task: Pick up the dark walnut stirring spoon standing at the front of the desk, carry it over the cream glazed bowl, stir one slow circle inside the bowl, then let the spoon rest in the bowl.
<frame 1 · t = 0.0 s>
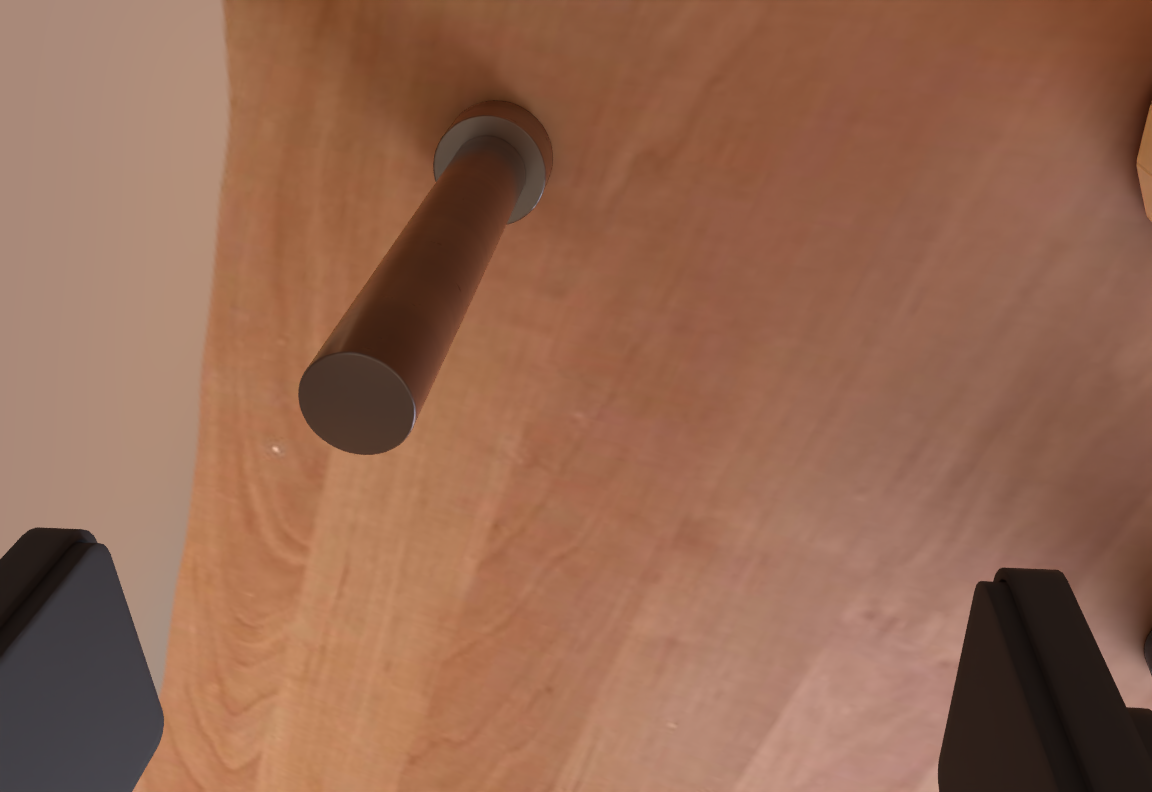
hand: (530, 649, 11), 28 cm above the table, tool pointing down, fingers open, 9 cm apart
stirrer: (498, 155, 38), on the table
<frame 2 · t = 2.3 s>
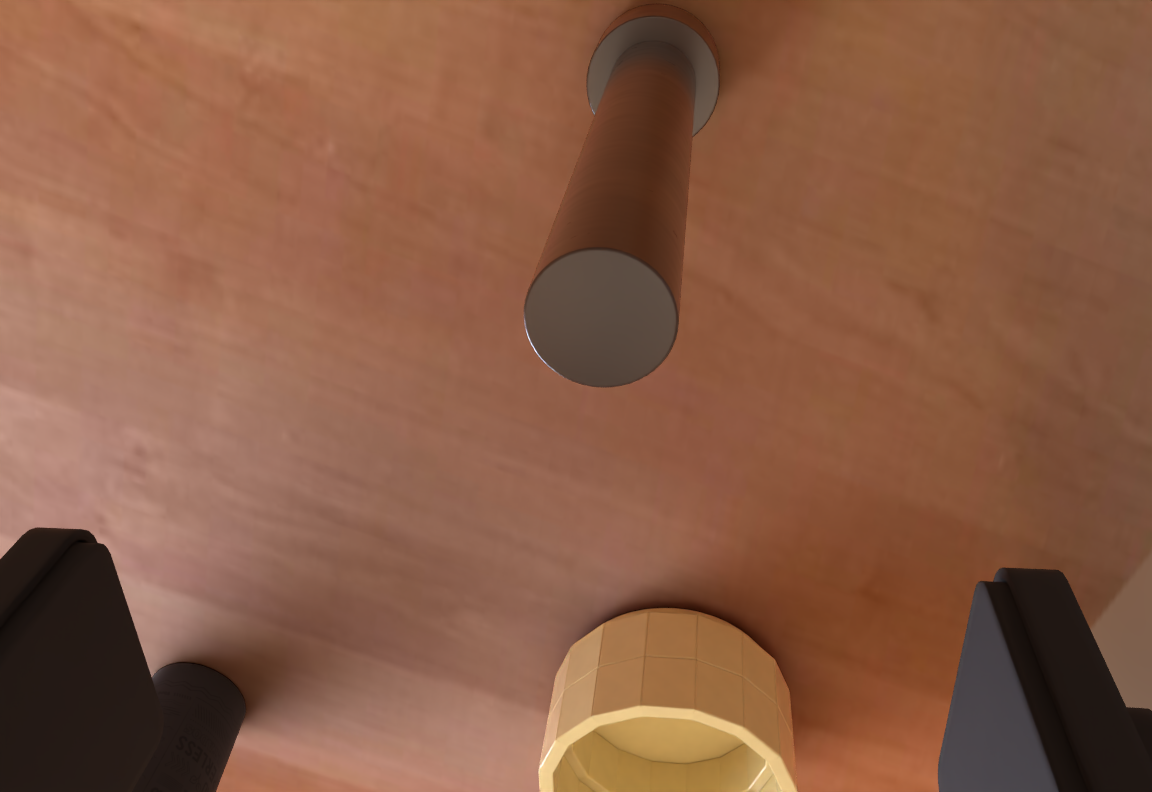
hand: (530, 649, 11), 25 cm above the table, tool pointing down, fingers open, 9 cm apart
drinking cup: (200, 694, 50), on the table
bowl: (671, 685, 46), on the table
stirrer: (655, 70, 32), on the table
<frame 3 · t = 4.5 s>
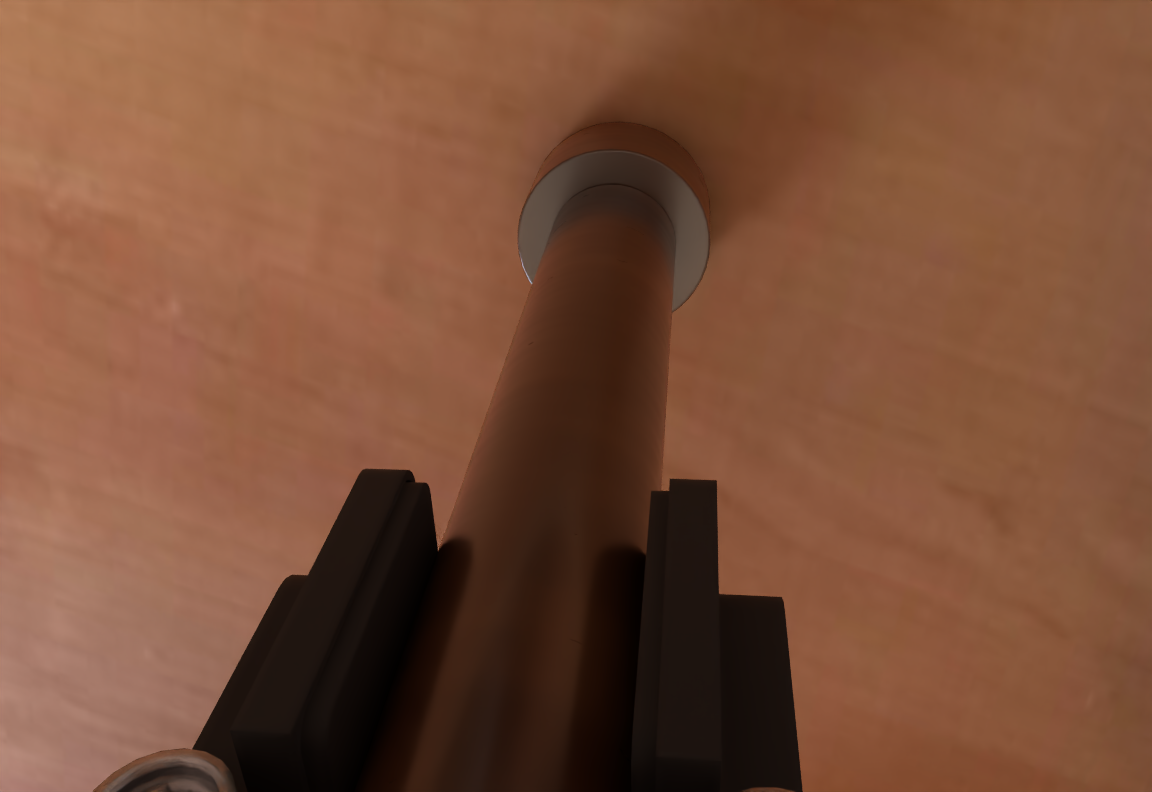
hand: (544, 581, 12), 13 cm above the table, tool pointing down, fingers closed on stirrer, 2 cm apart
stirrer: (619, 210, 23), on the table, touching gripper
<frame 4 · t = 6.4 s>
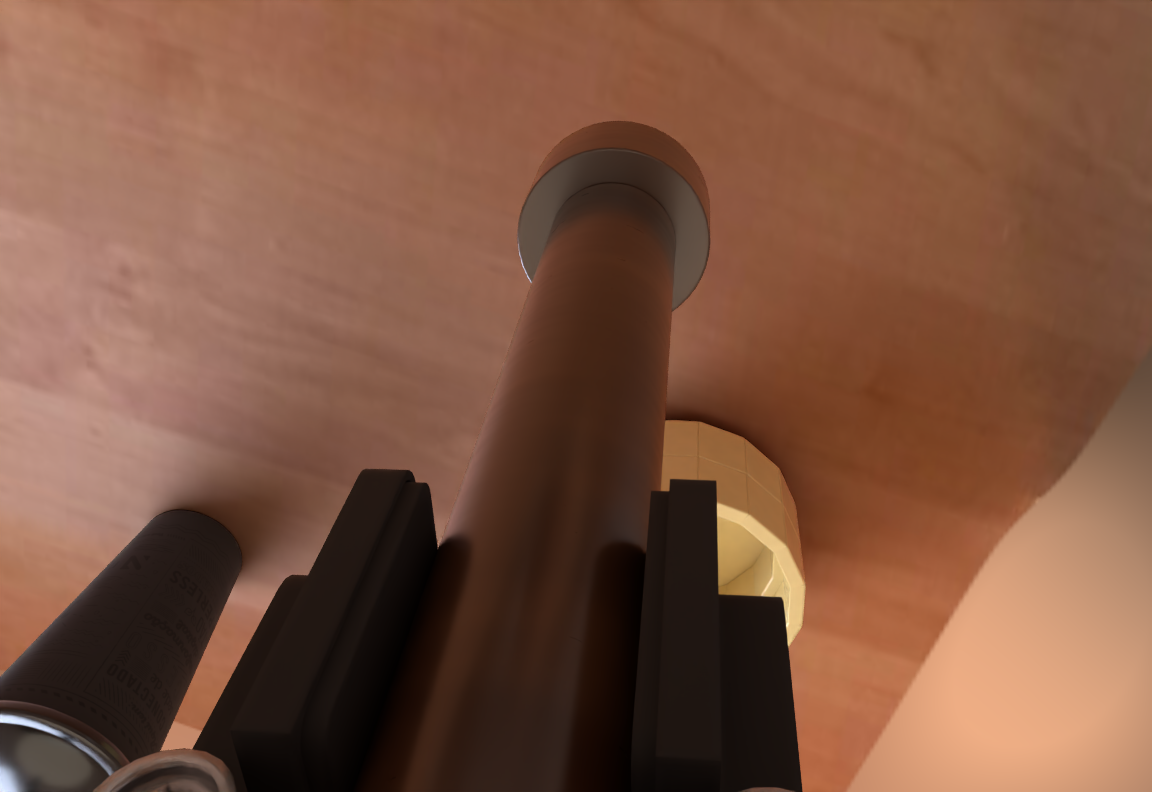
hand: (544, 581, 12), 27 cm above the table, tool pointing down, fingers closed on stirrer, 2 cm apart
drinking cup: (195, 546, 49), on the table
bowl: (674, 509, 45), on the table
stirrer: (619, 209, 23), point 15 cm above the table, touching gripper
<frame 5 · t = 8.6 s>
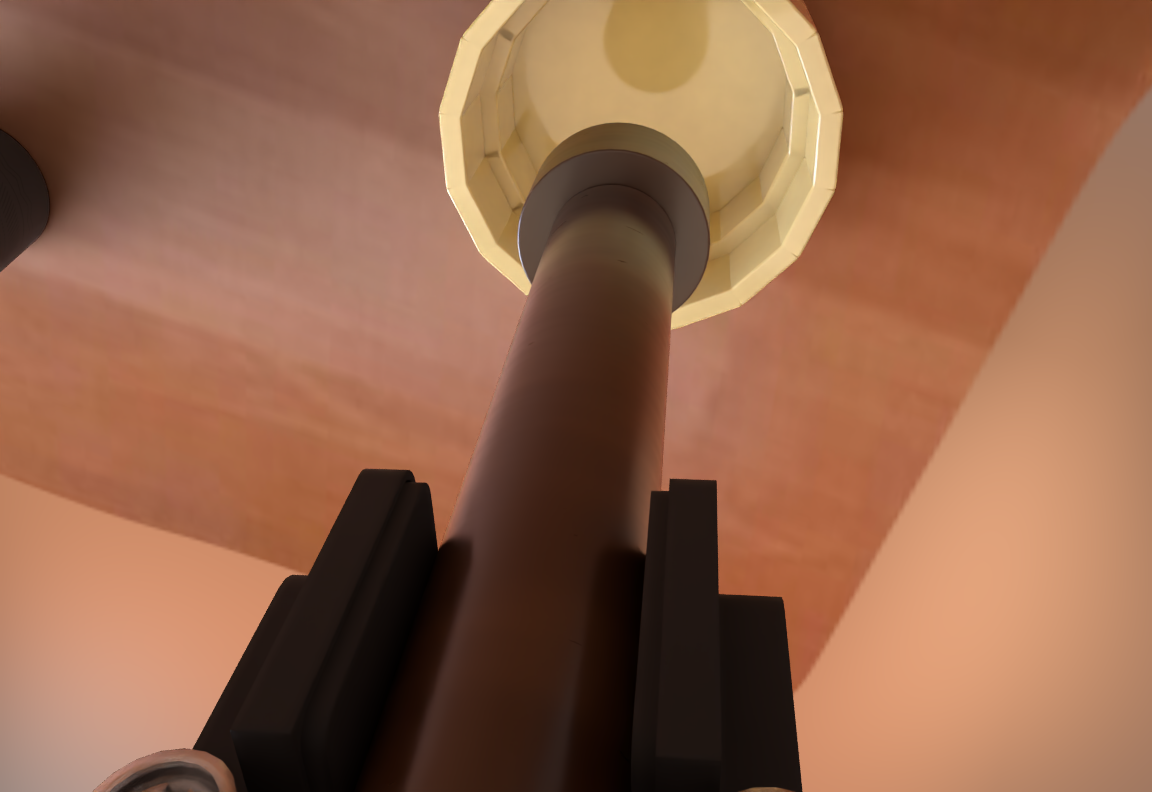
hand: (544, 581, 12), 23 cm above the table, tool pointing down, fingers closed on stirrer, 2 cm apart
bowl: (648, 92, 31), on the table
stirrer: (619, 211, 23), point 10 cm above the table, touching gripper
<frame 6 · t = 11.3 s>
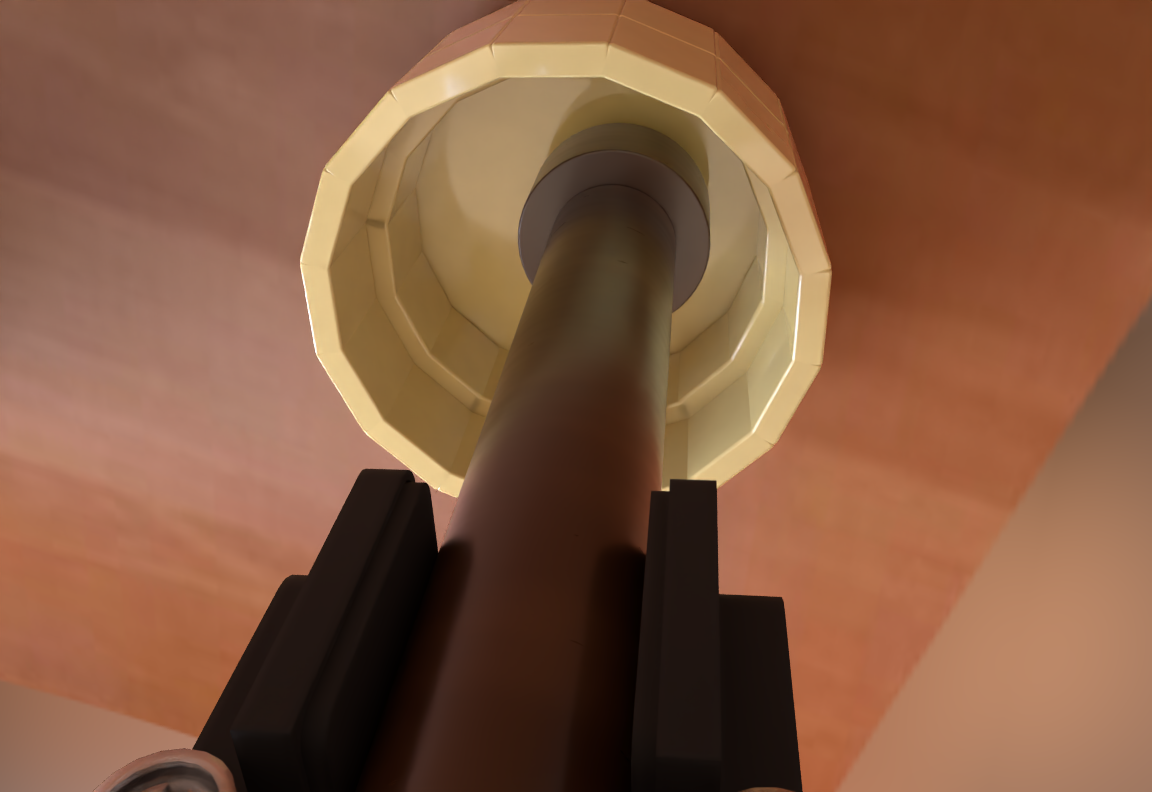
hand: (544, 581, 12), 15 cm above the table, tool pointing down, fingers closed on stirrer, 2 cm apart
bowl: (589, 208, 25), on the table
stirrer: (619, 211, 23), point 2 cm above the table, touching gripper
when the fingers open (13 cm above the table, at t = 12.9 s): stirrer stays where it is, resting on bowl.
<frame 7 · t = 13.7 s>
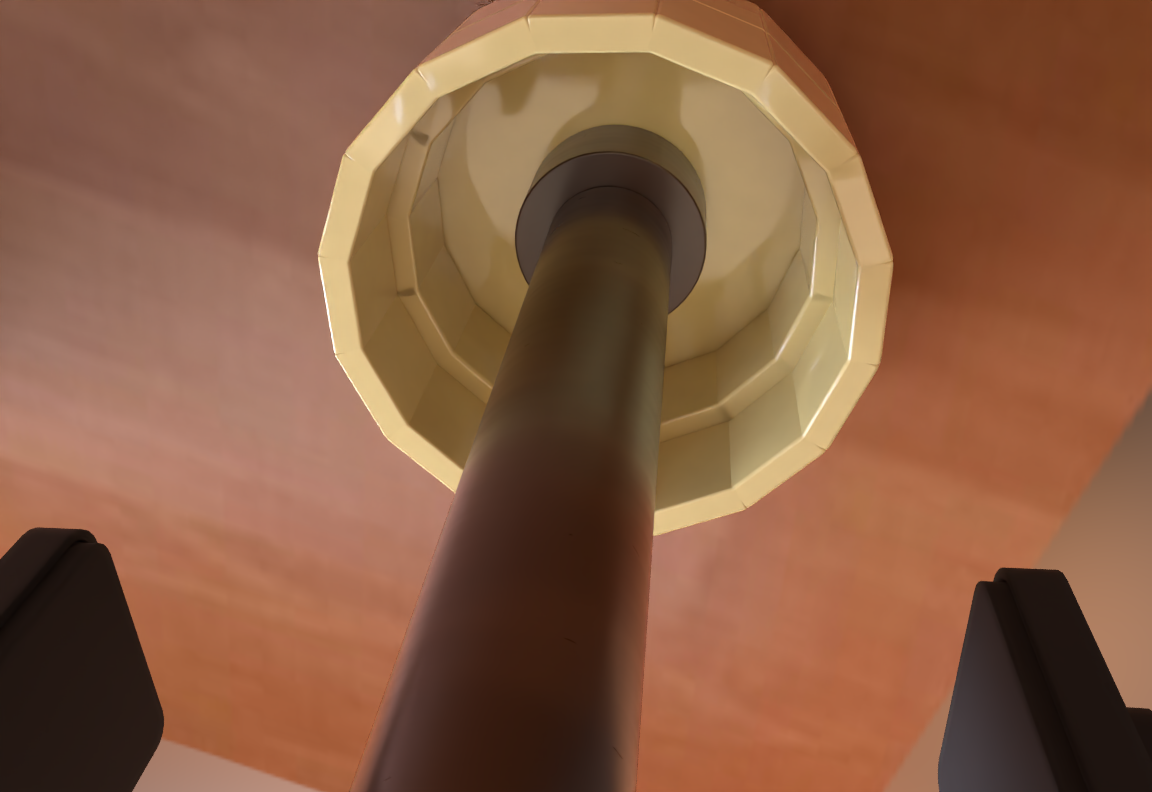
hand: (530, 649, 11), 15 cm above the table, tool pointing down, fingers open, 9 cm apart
bowl: (620, 199, 24), on the table, touching stirrer
stirrer: (616, 212, 23), point 1 cm above the table, touching bowl
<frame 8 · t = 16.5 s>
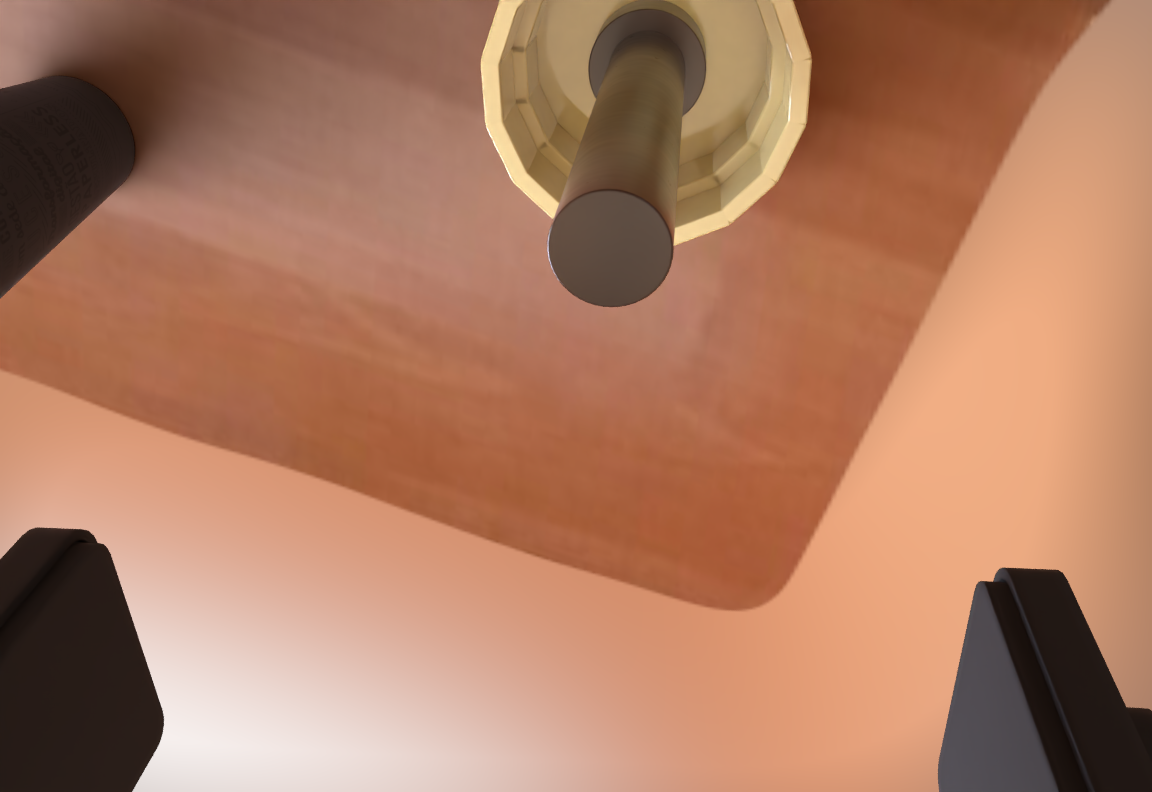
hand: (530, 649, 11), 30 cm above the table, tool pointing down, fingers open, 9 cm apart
drinking cup: (79, 134, 41), on the table
bowl: (651, 52, 37), on the table, touching stirrer
stirrer: (649, 58, 36), point 1 cm above the table, touching bowl
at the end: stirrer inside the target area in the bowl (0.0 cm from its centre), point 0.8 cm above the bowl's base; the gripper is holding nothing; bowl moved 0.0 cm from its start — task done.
